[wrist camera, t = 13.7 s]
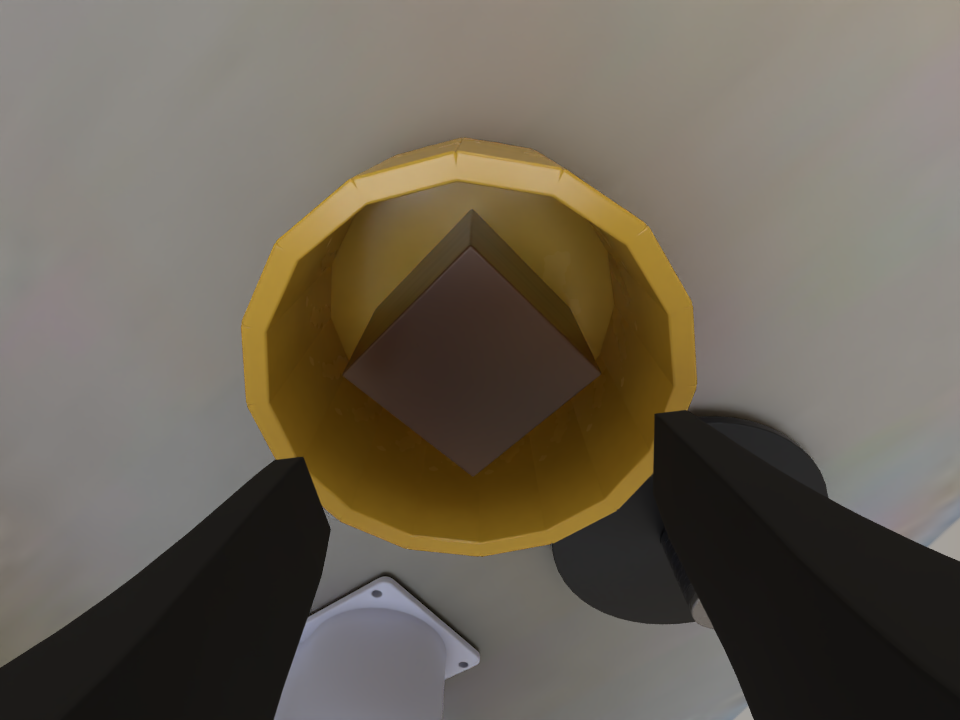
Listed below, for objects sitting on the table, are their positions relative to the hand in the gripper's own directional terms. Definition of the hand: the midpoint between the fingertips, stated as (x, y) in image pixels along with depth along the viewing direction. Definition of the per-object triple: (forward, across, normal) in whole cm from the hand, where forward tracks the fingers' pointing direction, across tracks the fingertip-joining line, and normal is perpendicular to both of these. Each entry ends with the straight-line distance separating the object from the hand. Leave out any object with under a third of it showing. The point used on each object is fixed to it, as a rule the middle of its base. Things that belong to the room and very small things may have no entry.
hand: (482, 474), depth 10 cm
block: (+9, 0, 0) cm, 9 cm away
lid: (+8, -8, +11) cm, 16 cm away
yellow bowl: (+9, 0, 0) cm, 9 cm away
